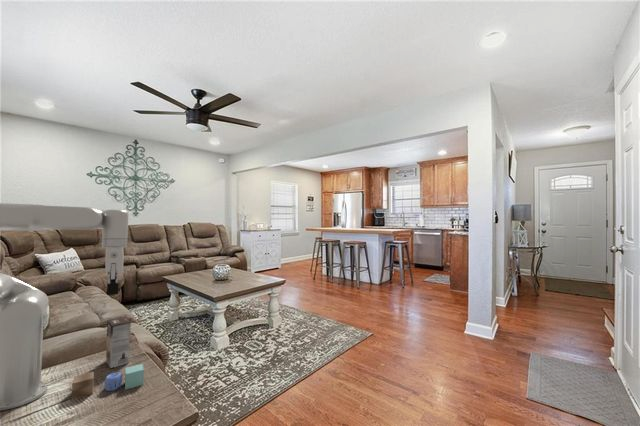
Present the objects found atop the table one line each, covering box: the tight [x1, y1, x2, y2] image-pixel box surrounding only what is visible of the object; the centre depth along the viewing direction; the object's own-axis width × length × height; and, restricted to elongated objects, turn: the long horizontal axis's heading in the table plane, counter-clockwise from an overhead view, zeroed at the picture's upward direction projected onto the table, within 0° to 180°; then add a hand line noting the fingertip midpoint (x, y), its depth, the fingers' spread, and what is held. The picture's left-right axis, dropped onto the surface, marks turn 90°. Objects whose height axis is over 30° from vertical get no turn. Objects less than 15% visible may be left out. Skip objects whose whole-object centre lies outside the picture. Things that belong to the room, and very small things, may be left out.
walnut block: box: [71, 371, 95, 401], centre depth 90 cm, size 5×5×5 cm
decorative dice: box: [103, 372, 123, 392], centre depth 93 cm, size 4×4×4 cm
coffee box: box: [105, 316, 132, 369], centre depth 111 cm, size 9×6×16 cm
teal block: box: [124, 363, 145, 390], centre depth 96 cm, size 5×5×5 cm
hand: (112, 294), depth 102 cm, fingers closed
